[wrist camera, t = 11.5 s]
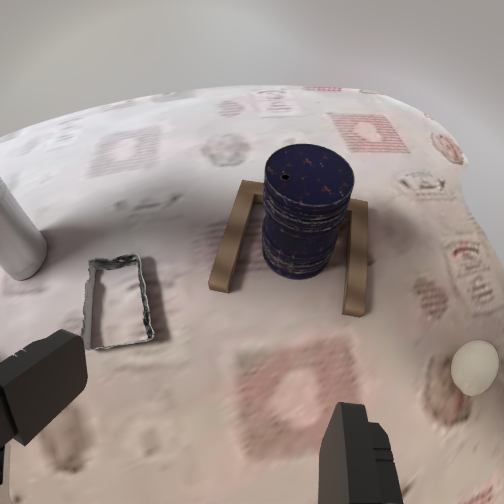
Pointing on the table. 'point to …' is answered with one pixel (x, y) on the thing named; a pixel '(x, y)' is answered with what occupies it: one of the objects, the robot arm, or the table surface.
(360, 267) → the walnut bay
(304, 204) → the dark blue ridged cylinder
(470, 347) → the white egg
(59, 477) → the table surface
